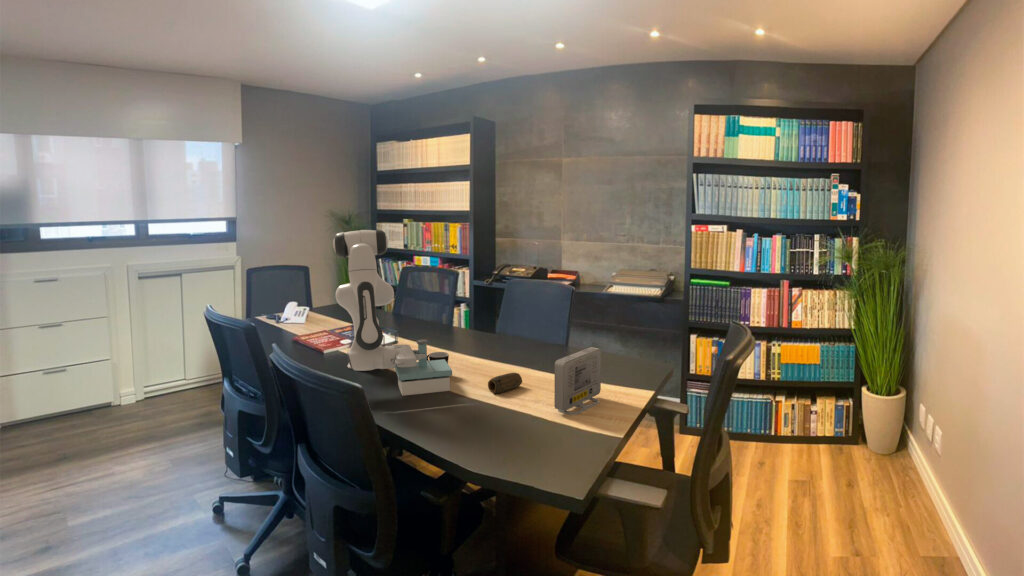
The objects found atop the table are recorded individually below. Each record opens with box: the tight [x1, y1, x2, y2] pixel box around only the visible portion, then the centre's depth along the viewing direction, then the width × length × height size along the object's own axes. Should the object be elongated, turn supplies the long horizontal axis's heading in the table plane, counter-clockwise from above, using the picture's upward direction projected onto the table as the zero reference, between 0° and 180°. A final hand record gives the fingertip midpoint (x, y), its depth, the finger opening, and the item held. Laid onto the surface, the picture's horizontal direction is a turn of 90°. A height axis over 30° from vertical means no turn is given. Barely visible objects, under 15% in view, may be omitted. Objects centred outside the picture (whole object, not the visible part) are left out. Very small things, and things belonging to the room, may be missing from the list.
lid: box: [394, 339, 453, 381], centre depth 247 cm, size 15×21×13 cm
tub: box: [397, 376, 451, 397], centre depth 248 cm, size 13×19×6 cm
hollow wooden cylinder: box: [487, 372, 523, 394], centre depth 247 cm, size 15×7×7 cm, turn 139°
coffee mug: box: [427, 351, 450, 364], centre depth 265 cm, size 12×9×10 cm
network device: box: [553, 346, 602, 416], centre depth 227 cm, size 26×9×20 cm, turn 141°
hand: (424, 354), depth 247 cm, fingers closed on lid, 3 cm apart
